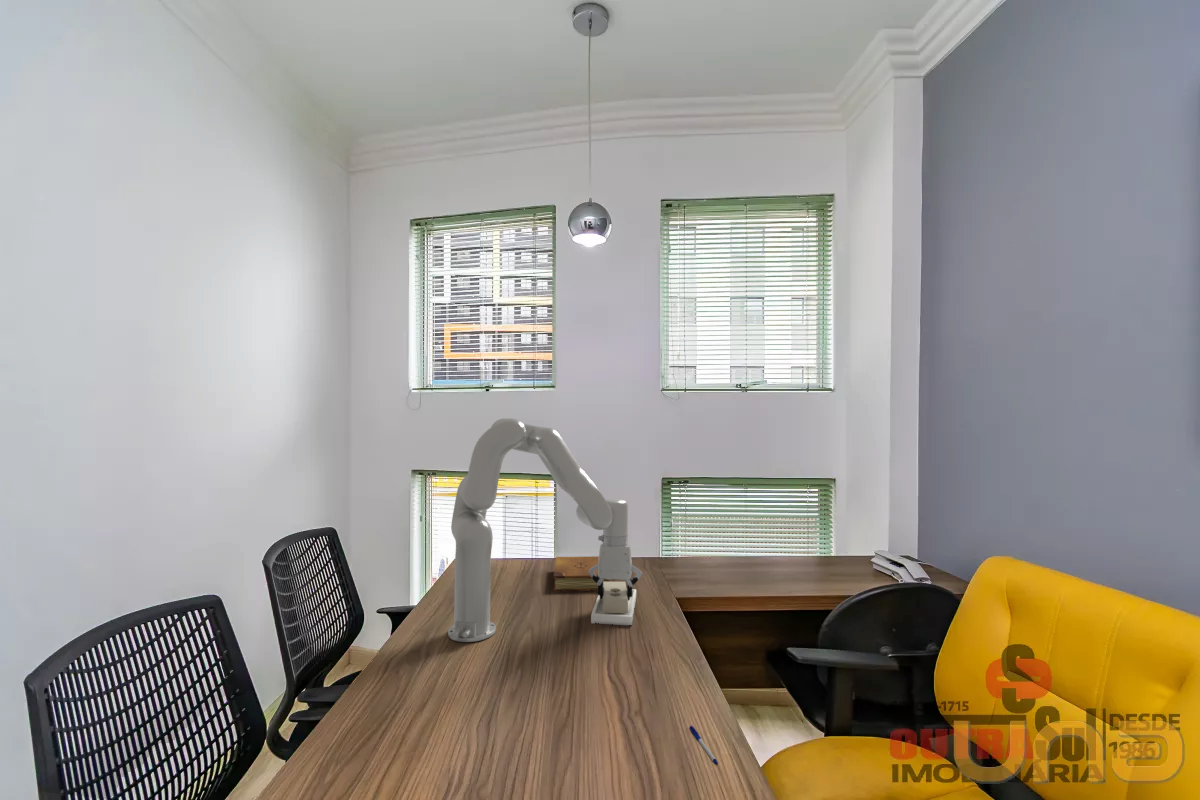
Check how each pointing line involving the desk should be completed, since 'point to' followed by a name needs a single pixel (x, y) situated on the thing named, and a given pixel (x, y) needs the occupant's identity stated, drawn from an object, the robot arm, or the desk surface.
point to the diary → (575, 573)
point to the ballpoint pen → (703, 744)
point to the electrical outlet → (615, 597)
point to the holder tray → (613, 618)
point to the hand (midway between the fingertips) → (615, 597)
